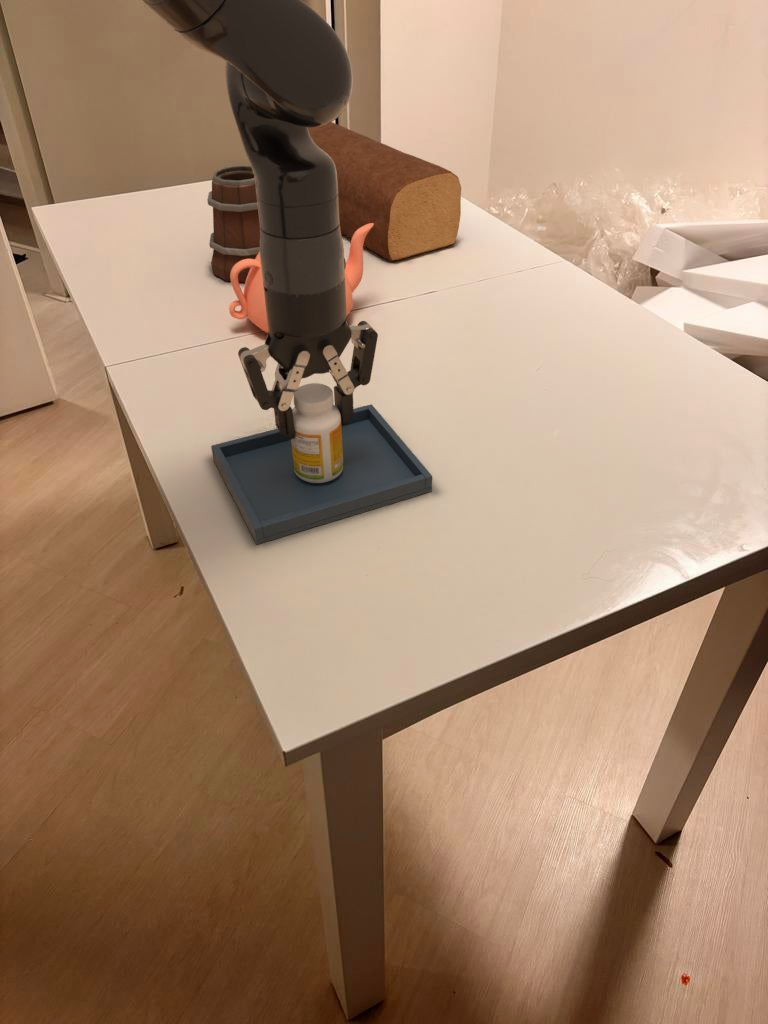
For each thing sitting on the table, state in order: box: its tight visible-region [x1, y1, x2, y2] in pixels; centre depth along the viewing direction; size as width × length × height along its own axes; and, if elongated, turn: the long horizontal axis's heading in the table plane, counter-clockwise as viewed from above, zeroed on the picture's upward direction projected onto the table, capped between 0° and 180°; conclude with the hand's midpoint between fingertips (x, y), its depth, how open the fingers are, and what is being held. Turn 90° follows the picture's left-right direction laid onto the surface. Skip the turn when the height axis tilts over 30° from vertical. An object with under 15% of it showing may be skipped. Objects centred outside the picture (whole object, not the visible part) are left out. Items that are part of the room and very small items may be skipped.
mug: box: [207, 165, 260, 283], centre depth 128 cm, size 16×12×15 cm
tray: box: [210, 403, 433, 545], centre depth 87 cm, size 20×16×2 cm
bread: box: [307, 121, 462, 262], centre depth 142 cm, size 16×39×13 cm, turn 34°
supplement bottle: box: [291, 382, 343, 483], centre depth 84 cm, size 5×5×10 cm
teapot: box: [228, 223, 374, 334], centre depth 113 cm, size 22×16×12 cm
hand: (315, 427), depth 84 cm, fingers closed on supplement bottle, 5 cm apart
